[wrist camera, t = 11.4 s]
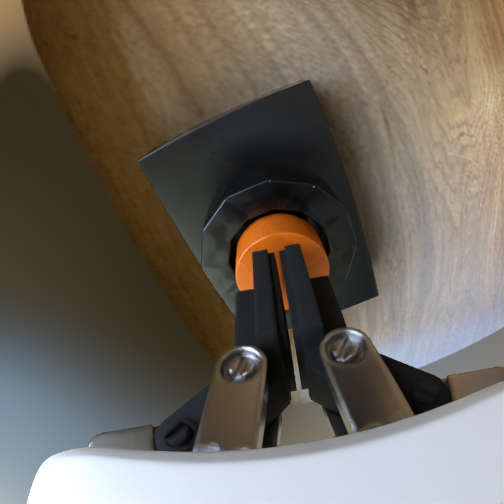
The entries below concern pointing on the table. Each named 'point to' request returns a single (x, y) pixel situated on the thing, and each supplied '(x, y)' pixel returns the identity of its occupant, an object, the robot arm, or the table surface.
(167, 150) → the button block
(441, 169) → the table surface
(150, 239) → the table surface
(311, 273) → the button
